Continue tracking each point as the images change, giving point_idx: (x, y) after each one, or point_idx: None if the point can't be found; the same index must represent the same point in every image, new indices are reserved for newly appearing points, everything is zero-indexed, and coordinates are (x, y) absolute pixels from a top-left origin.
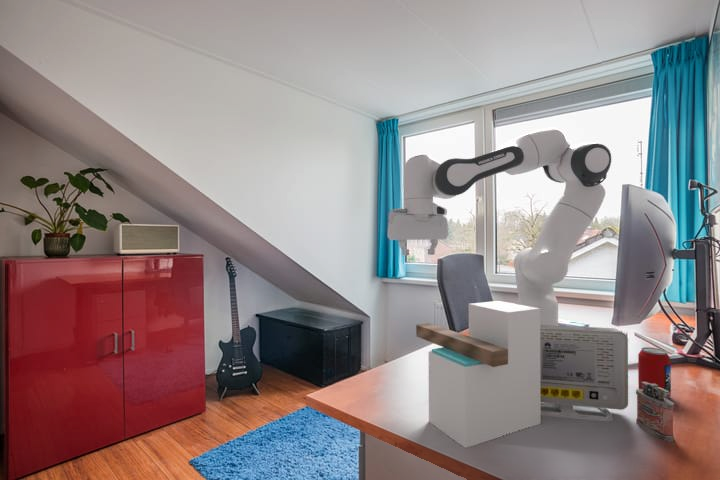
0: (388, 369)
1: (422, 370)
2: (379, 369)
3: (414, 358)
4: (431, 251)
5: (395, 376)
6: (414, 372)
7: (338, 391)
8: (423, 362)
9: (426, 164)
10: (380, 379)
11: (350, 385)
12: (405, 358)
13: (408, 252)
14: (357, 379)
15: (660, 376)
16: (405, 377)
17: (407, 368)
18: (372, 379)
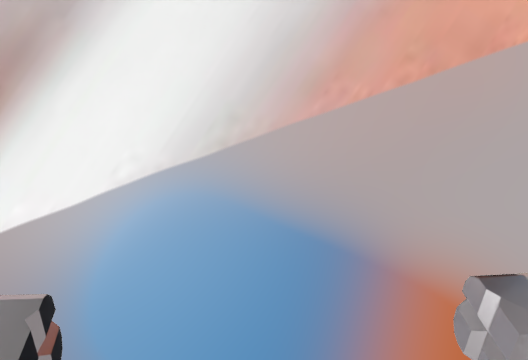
0: (270, 102)
1: (170, 41)
2: (296, 114)
3: (129, 154)
4: (23, 323)
5: (287, 37)
6: (207, 38)
7: (501, 12)
8: (121, 107)
9: None
10: (344, 37)
11: (447, 37)
12: (159, 166)
13: (505, 293)
14: (402, 70)
15: None
16: (263, 13)
17: (208, 82)
18: (365, 49)
